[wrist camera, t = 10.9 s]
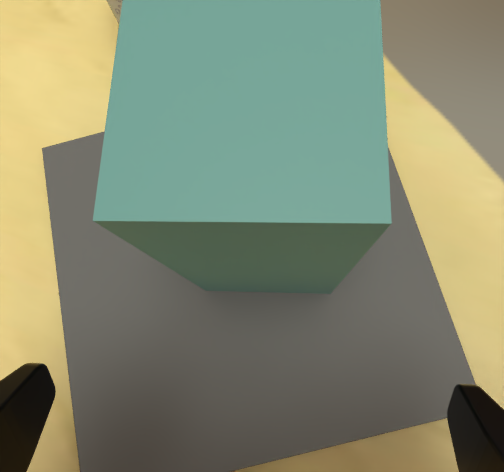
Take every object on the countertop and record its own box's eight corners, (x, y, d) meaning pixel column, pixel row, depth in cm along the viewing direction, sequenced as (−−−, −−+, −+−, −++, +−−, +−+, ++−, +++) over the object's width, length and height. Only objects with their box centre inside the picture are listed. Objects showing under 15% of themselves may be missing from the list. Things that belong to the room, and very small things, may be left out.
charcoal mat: (479, 406, 18) (484, 408, 18) (89, 503, 19) (84, 507, 18) (356, 69, 23) (357, 63, 22) (47, 152, 23) (42, 148, 23)
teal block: (330, 293, 20) (391, 223, 8) (205, 290, 20) (92, 220, 8) (328, 175, 21) (378, -29, 9) (212, 176, 22) (124, -17, 10)
